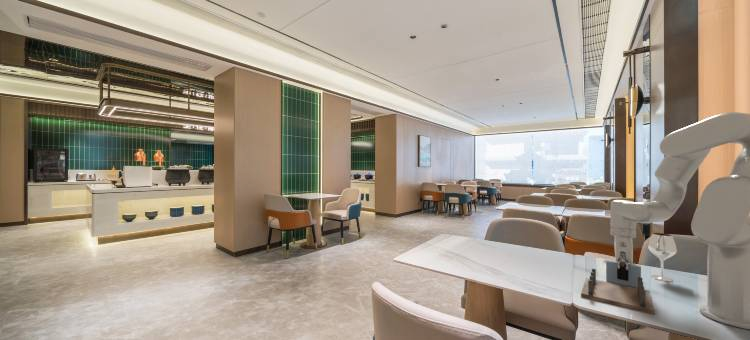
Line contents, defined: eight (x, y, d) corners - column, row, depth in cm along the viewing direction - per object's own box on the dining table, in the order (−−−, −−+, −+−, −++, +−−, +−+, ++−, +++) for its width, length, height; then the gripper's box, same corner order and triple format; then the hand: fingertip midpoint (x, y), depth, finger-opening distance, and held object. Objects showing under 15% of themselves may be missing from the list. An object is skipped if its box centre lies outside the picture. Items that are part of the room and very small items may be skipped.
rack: (649, 294, 99) (649, 278, 99) (654, 314, 85) (654, 295, 85) (586, 280, 111) (586, 266, 111) (581, 296, 97) (580, 280, 97)
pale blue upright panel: (640, 286, 106) (640, 265, 106) (641, 288, 104) (640, 266, 104) (606, 279, 113) (606, 259, 113) (606, 281, 111) (606, 261, 111)
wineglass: (663, 275, 118) (663, 232, 118) (683, 282, 110) (683, 237, 110) (642, 274, 119) (642, 232, 119) (660, 282, 110) (660, 236, 111)
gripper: (637, 237, 100) (636, 285, 100) (635, 230, 113) (634, 272, 113) (609, 234, 105) (609, 280, 105) (610, 227, 118) (610, 268, 118)
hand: (622, 276), depth 109 cm, fingers open, 8 cm apart
